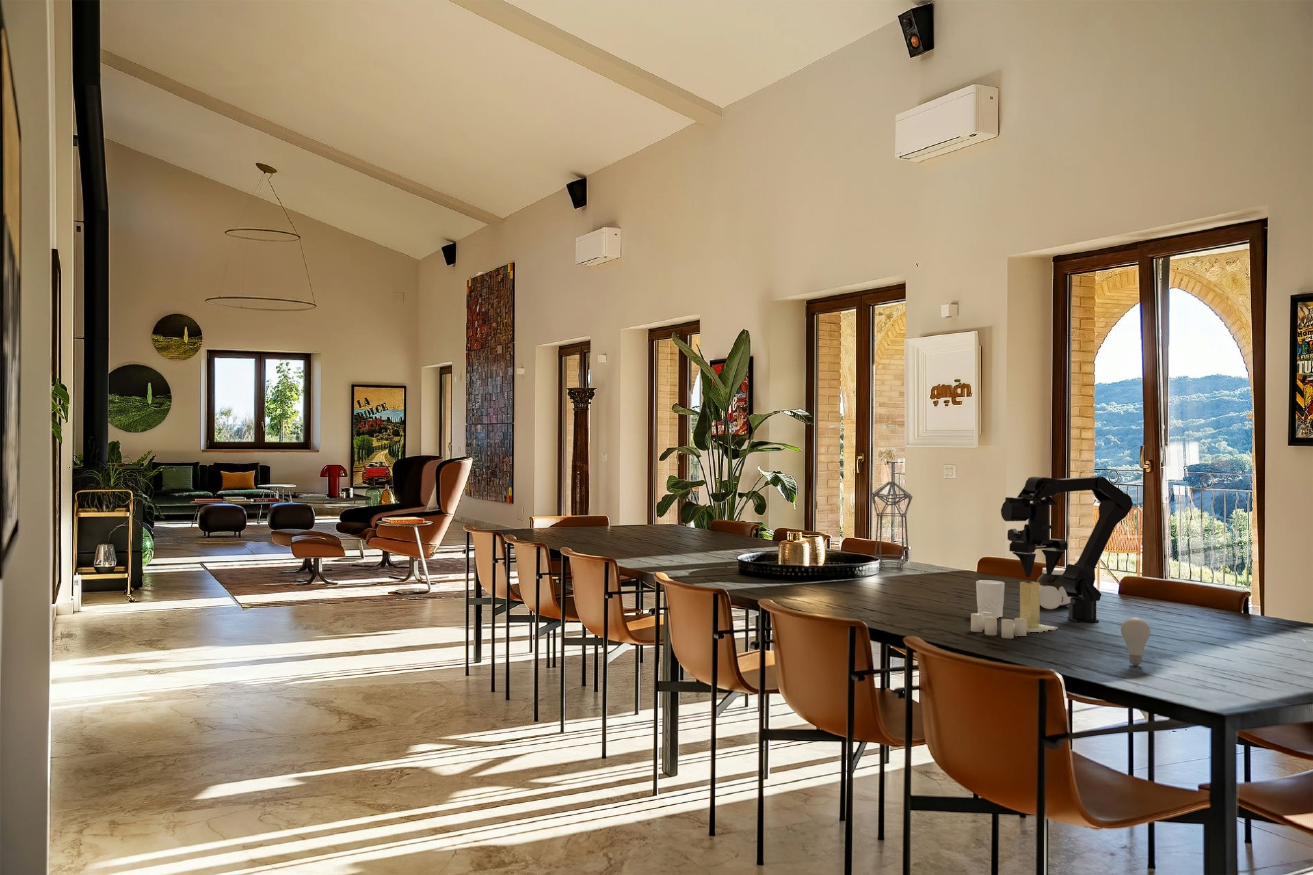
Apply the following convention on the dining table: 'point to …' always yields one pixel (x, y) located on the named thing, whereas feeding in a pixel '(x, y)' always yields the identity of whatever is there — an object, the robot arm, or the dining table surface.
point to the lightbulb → (1135, 638)
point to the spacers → (990, 625)
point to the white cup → (990, 597)
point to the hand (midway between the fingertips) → (1038, 576)
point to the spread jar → (1052, 590)
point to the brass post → (1030, 603)
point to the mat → (1041, 628)
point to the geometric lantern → (907, 495)
